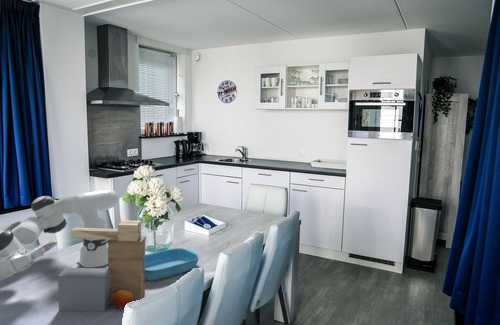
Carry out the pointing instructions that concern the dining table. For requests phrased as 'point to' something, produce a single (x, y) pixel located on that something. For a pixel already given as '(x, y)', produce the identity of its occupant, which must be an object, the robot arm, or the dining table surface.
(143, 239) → the shelf block
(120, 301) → the fruit
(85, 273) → the storage box
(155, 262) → the casserole dish
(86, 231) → the mallet
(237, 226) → the dining table surface
